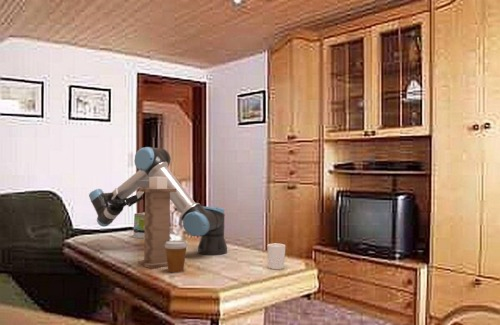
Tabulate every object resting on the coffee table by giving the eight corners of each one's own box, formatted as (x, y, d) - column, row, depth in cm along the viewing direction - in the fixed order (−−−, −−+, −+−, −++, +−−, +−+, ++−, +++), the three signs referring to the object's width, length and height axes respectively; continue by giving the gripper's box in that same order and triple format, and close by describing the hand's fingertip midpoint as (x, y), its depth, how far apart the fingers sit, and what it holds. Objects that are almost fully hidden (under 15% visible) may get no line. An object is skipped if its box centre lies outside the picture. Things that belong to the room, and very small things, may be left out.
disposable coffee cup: (188, 272, 189) (189, 243, 189) (165, 274, 186) (165, 244, 186) (185, 267, 198) (185, 239, 198) (163, 268, 195) (163, 240, 195)
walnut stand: (137, 264, 203) (138, 187, 204) (161, 260, 211) (162, 187, 211) (151, 269, 194) (152, 189, 194) (175, 265, 202) (176, 188, 202)
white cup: (279, 270, 194) (280, 247, 194) (263, 268, 199) (264, 245, 199) (288, 267, 201) (288, 244, 201) (272, 265, 205) (272, 242, 205)
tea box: (147, 239, 271) (147, 214, 271) (133, 238, 274) (133, 213, 274) (161, 235, 285) (161, 211, 285) (147, 234, 288) (147, 211, 288)
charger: (135, 186, 213) (135, 176, 213) (145, 186, 217) (145, 175, 217) (157, 188, 198) (157, 177, 198) (167, 188, 202) (167, 177, 202)
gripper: (137, 214, 242) (154, 196, 228) (91, 217, 226) (106, 198, 212) (134, 201, 245) (151, 183, 231) (88, 203, 229) (103, 184, 215)
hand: (130, 190), depth 222 cm, fingers open, 13 cm apart
